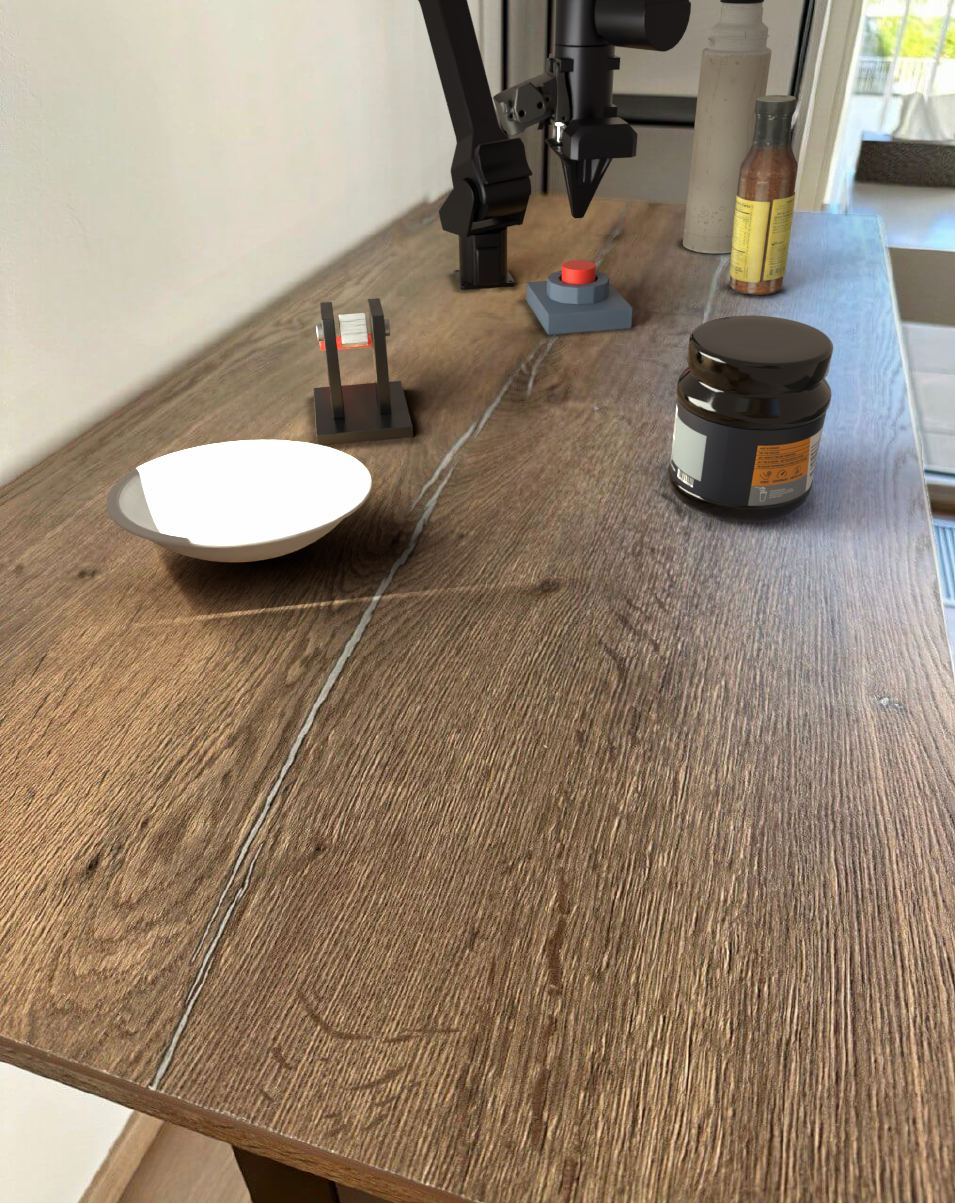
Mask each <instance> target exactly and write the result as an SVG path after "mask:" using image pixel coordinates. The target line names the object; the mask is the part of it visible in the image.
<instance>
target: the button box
mask: <svg viewBox="0 0 955 1203" xmlns="http://www.w3.org/2000/svg"><path fill="white" fill-rule="evenodd" d="M610 280H611V278H610V277H609V276H608V275H607V273H605V272H603V271H598V270H596V275H595V282H592V283H589V284H569V283H565V282H562V269H561V270H558V271H554V272H551V273H550V274H549V275H548V276H547V278H546V280H541V281H540V280H539V281H527V282H526V303H527V304H528V306H529V308H530V309H531V311H532V312H533V314H534V315H535V317H536V318H537V321H538V322H539V323H540V325H541V326H542V328H543V329H544V331H545V332H546V334H547V335H548V336H549V335H550V336H551V335H562V334H574V333H575V334H577V333H585V332H586V333H587V332H597V331H598V332H601V331H610V330H624V329H625V330H626V329H632V322H633V311H634V310H633V307H632V306H631V304H629V303H628V301H627V300H626V299H625V298H624V297H623V296H622V295H621V293H619V291H618V290H617V289H616V288H615V287H614V286H613V285H612V284H611V282H610Z"/></svg>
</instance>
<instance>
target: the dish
mask: <svg viewBox="0 0 955 1203" xmlns="http://www.w3.org/2000/svg"><path fill="white" fill-rule="evenodd" d="M372 489H373V478H372V475H371V473H370V471H369V469H368V468H367V467H366V465H365V464H363V462H361V461H360V460H359V459H357V458H356V457H354V456H352V455H350V454H349V453H346V452H344V451H341V450H339V449H336V448H332V447H329V446H327V445H322V446H321V445H318V444H317V443H312V442H311V443H310V442H305V441H296V440H286V439H285V440H284V439H245V440H234V441H224V442H217V443H211V444H205V445H199V446H194V447H191V448H186V449H182V450H179V451H175V452H172V453H168V454H165V455H163V456H160V457H157V458H155V459H152V460H150V461H148V462H145V463H143V464H141V465H139V466H137V467H135V468H134V469H132V470H130V471H129V472H127V473H126V474H124V475H123V476H122V477H121V478H120V479H119V480H117V481H116V482H115V483H114V484H113V486H112V487H111V488H110V490H109V492H108V494H107V497H106V504H105V505H106V510H107V513H108V515H109V517H110V518H111V519H112V521H113V522H114V523H115V524H116V525H117V526H118V527H120V528H121V529H123V530H124V531H126V532H128V533H129V534H131V535H134V536H136V537H139V538H141V539H144V540H148V541H150V542H152V543H154V544H156V545H158V546H160V547H162V548H164V549H166V550H168V551H171V552H174V553H177V554H180V555H181V556H185V557H189V558H194V559H198V560H203V561H209V562H217V563H248V562H249V563H251V562H258V561H265V560H270V559H274V558H275V559H276V558H279V557H282V556H285V555H288V554H291V553H295V552H297V551H300V550H302V549H304V548H305V547H308V546H309V545H311V544H314V543H315V542H317V541H318V540H320V539H321V538H323V537H324V536H326V535H327V534H329V533H330V532H331V531H332V530H333V529H335V528H336V527H337V526H338V525H339V524H341V523H342V521H343V520H345V519H346V518H348V517H349V516H351V515H352V514H354V513H355V512H356V511H357V510H359V509H360V508H361V507H362V506H363V505H364V503H365V502H366V501H367V500H368V498H369V496H370V495H371V492H372Z"/></svg>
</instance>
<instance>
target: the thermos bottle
mask: <svg viewBox="0 0 955 1203" xmlns="http://www.w3.org/2000/svg"><path fill="white" fill-rule="evenodd" d="M719 2H720V3H721V7H720V9H719V17H718V21H717V23H715V24H714V25H713V26H711V27H710V30H709V37H708V38H707V40H708V46H707V47H705V48H703V49H702V51H701V58H700V67H699V68H700V69H699V78H698V88H697V96H696V97H697V98H696V107H695V109H696V110H695V119H694V127H693V128H694V129H693V138H692V147H691V148H692V149H691V157H690V158H691V159H690V172H689V173H690V174H689V183H688V190H687V198H686V207H685V216H684V226H683V227H684V228H683V237H682V245H683V247H684V248H686V249H688V250H690V251H693V252H697V253H701V254H702V253H703V254H715V255H717V254H718V255H720V254H731V250H732V237H733V226H734V215H735V206H736V197H737V189H738V181H739V174H740V167H741V163H742V162H743V160H744V159H745V157H746V155H747V154H748V152H749V150H750V148H751V147H752V145H753V137H754V132H755V122H756V113H755V105H756V100H757V98H759V97H762V96H767V88H768V82H769V74H770V66H771V60H772V53H773V52H772V49H771V48H769V47H768V46H767V44H768V38H769V37H770V35H769V27H768V25H766V24H765V23H764V22H763V14H764V7H763V5H764V4H763V3H764V2H765V0H719Z"/></svg>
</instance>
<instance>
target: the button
mask: <svg viewBox="0 0 955 1203" xmlns="http://www.w3.org/2000/svg"><path fill="white" fill-rule="evenodd" d="M561 264H562V265H561V270H562V282H565V283H569V284H589V283H592V282H595V275H596V271H597V264H596V263H595V262H593V261H590V260H583V259H573V260H568V261H565V262H563V263H561Z"/></svg>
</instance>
